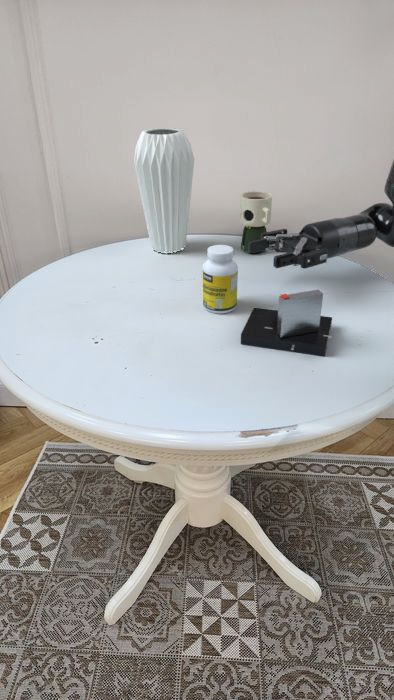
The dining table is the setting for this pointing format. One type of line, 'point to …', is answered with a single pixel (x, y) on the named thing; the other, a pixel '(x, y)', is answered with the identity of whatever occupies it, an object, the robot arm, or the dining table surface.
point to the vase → (165, 185)
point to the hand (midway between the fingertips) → (261, 255)
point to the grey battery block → (299, 313)
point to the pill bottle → (220, 280)
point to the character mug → (254, 215)
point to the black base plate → (264, 334)
